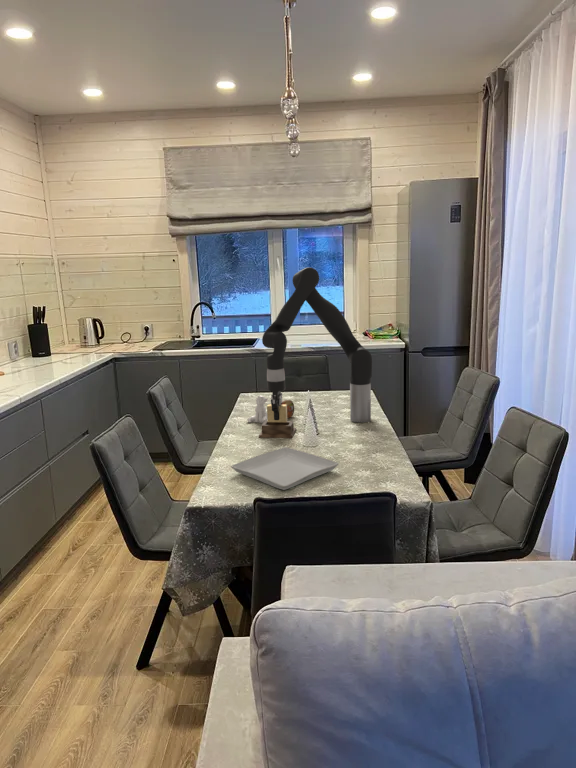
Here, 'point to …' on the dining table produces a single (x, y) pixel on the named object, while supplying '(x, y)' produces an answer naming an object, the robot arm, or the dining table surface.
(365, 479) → the dining table surface
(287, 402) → the tin
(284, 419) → the tan wooden block
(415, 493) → the dining table surface
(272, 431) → the slotted block
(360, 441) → the dining table surface
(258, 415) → the sitting furry creature
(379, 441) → the dining table surface
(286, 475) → the square plate
